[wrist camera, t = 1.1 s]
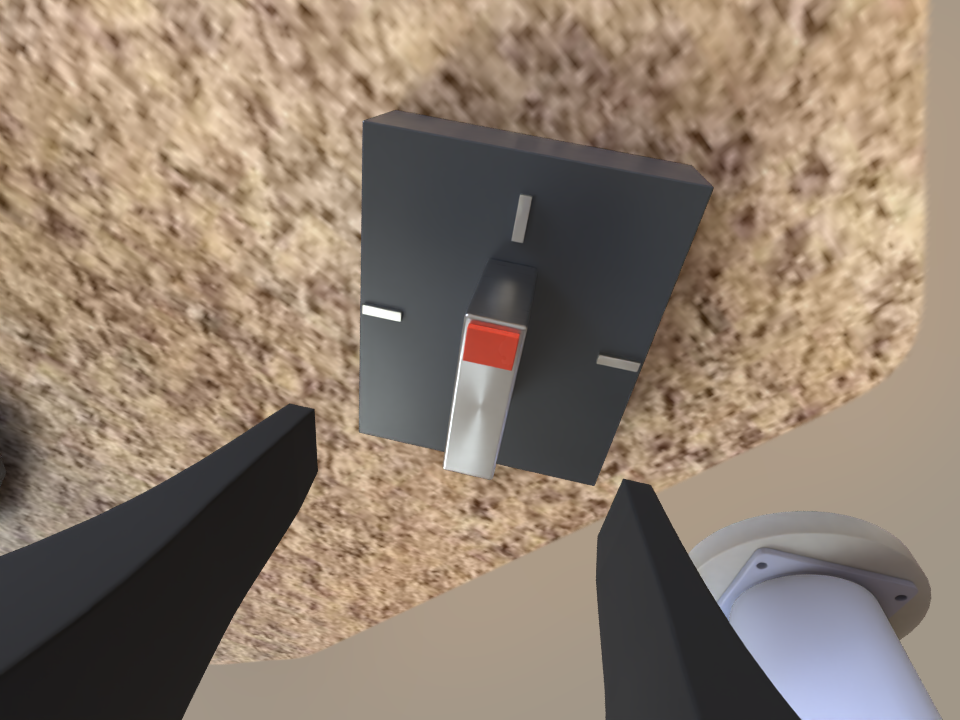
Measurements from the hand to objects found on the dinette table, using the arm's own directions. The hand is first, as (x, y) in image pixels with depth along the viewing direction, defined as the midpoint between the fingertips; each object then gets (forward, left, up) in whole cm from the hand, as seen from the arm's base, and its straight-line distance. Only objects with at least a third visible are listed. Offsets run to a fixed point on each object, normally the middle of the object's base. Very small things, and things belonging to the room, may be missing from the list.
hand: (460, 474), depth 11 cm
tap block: (0, 0, -10) cm, 10 cm away
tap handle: (0, 0, -7) cm, 7 cm away
